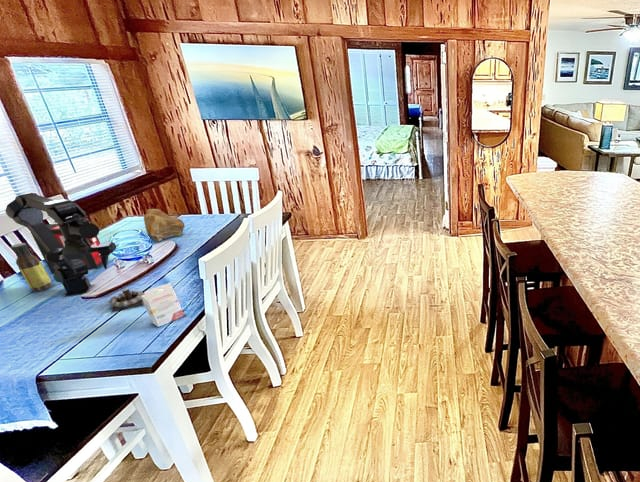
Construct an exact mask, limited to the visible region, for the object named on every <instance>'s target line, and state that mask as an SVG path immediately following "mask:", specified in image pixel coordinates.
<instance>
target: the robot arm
mask: <svg viewBox="0 0 640 482" xmlns="http://www.w3.org/2000/svg"><path fill="white" fill-rule="evenodd" d="M44 212H45V213H46V214H47V217H49V218H51V219H52V220H53V222H54V224H58V226H59V228H60V230H61V232H62V234H63V236H64V239H65V240H64V243H65V247H63V246H62V244H61V243H60V242H59V241H58V239H57V238H56V237H55V236H54V234H53V233H52V232H51V231H50V230H49V228H48V227H47V226H46V225H47V224H46V223H45V222H44ZM5 213H6V216H8V218H10V219H12V220H13V221H14V222H15V223H16V224H17V225H20V226H23V227H26V228H27V229H28V231H30V234H31V233H32V234H33V235H34V236H35V238H36V239H37V240H38V241H39V242H40V244H41V245H42V246H43V247H44V248H45V250H46V251H47V252H48V253H47V254H46V255H45V258H46V260H47V262H51V261H53V268H54V269H55V272H54V273H53V276H52V278H53V279H54V280H55V282H57V283H61V284H62V286H63V288H64V290H65V292H66V293H65V296H67V297H68V296H74V295H79V294H80V295H81V294H84V293H85V294H86V293H88V292H89V290H90V289H91V287H92V286H93V285H92V284H91V282H90V280H89V278H88V277H87V276H86V275H89V270H88V268H87V264H86V263H85V262H84V261H82V260H81V259H82V258H84V255H85V254H89V253H90V252H98V253H100V255H99V257H100V258H101V260H102V263H103V265H102V266H103V268H104V270H107V269H108V264H109V257H110V255H111V254H112V253H114V251H116V249H117V244H116V243H115V242H113V241H107V242H106V241H105V242H100V245H99V246H97V247H91V245H92V244H91V243H89V241H88V239H91V238H94V237H96V236H97V237H98V235H99V234H100V228H99V226H98V225H96V224H95V223H92V222H91V223H89V221H90V220H88V218H89V216H88V215H87V212H86V211H85V210H84V209H82V208H81V206H79V204H77V202H74V201H73V200H71V199H53V198H49V197H45V196H42V195H39V194H37V193H36V192H27V193H23V194H19V195H17V196H15V199H13V200H12V201H10V202H9V203H8V204H7V205H6V208H5ZM32 234H31V235H32Z"/></svg>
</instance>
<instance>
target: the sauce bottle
mask: <svg viewBox="0 0 640 482" xmlns="http://www.w3.org/2000/svg"><path fill="white" fill-rule="evenodd" d="M10 248H11V249H12V251H13V252H14V254H15V256H16V257H17V258H16V260H15V264H16V265H17V267H18V269H19V271H20V273H21V275H22V276H23V278H24V280H25V281H26V283H27V285H28V286H29V288H30V289H31V291H32V292H42V291H45V290H47V289H50V288H52V286H53V282H52V280H51V278H50V276H49V274H48V273H47V271H46V269H45V268H44V266H43V264H42V262H41V260H40V259H39V258H38V257H37V256H36V255H33V254H32V253H31V252H30V249H29V248H28V245H27V243H25V242H19V243H16V244H13V245H11V246H10Z"/></svg>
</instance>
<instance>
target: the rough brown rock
mask: <svg viewBox="0 0 640 482" xmlns="http://www.w3.org/2000/svg"><path fill="white" fill-rule="evenodd" d="M143 222H144V226H145V231H146V234H147V235H148V236H149V237H150V238H151V239H153V240H154V241H156V242H161V241H163V240H166V239H170V238H172V237H181V236H182V235H183V231H184V229H185V226H186V225H185V223H184V220H182V219H180V218H178V217H172V216H170V215H169V214H168V213H165V211H162V210H161V209H158V208H148V209H147V210H146V214H145V215H144V216H143ZM147 235H146V236H147ZM148 236H147V237H148ZM149 237H148V238H149Z"/></svg>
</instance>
